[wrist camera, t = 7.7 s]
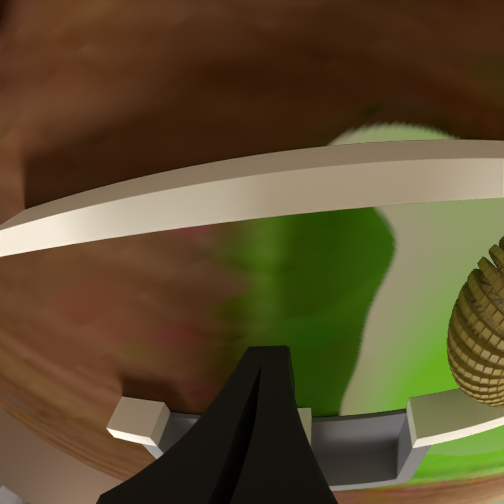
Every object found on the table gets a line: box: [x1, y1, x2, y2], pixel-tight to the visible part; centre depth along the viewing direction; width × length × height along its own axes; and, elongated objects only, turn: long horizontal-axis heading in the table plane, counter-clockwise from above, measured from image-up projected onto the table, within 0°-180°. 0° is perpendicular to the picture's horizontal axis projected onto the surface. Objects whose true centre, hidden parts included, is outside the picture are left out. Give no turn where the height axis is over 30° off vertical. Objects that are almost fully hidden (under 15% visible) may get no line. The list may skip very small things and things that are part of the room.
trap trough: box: [0, 140, 504, 491], centre depth 11 cm, size 18×26×2 cm
